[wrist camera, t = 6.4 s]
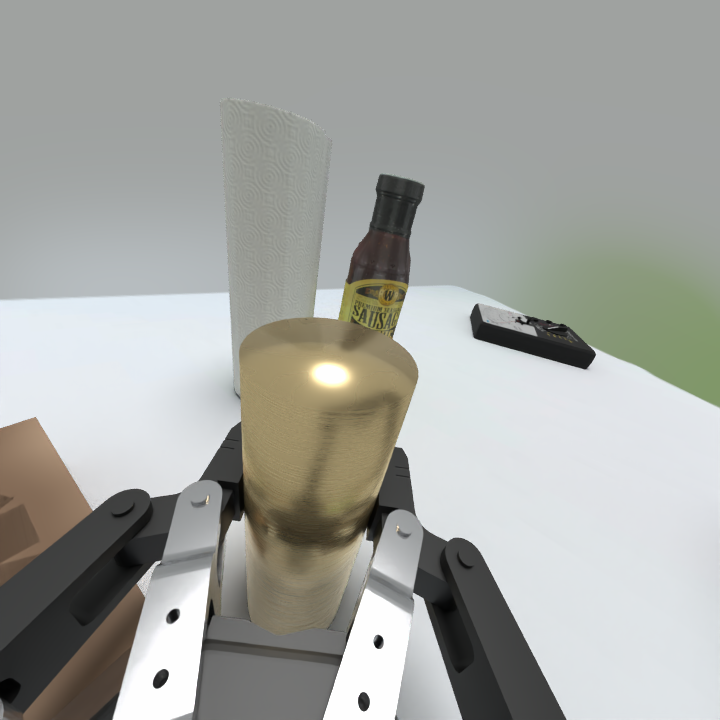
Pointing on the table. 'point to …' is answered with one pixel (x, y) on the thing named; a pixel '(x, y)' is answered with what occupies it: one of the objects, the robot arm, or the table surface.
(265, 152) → the paper towel roll
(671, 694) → the table surface
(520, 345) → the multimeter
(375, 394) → the yellow cylinder peg
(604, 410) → the table surface
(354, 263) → the sauce bottle
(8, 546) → the jig
